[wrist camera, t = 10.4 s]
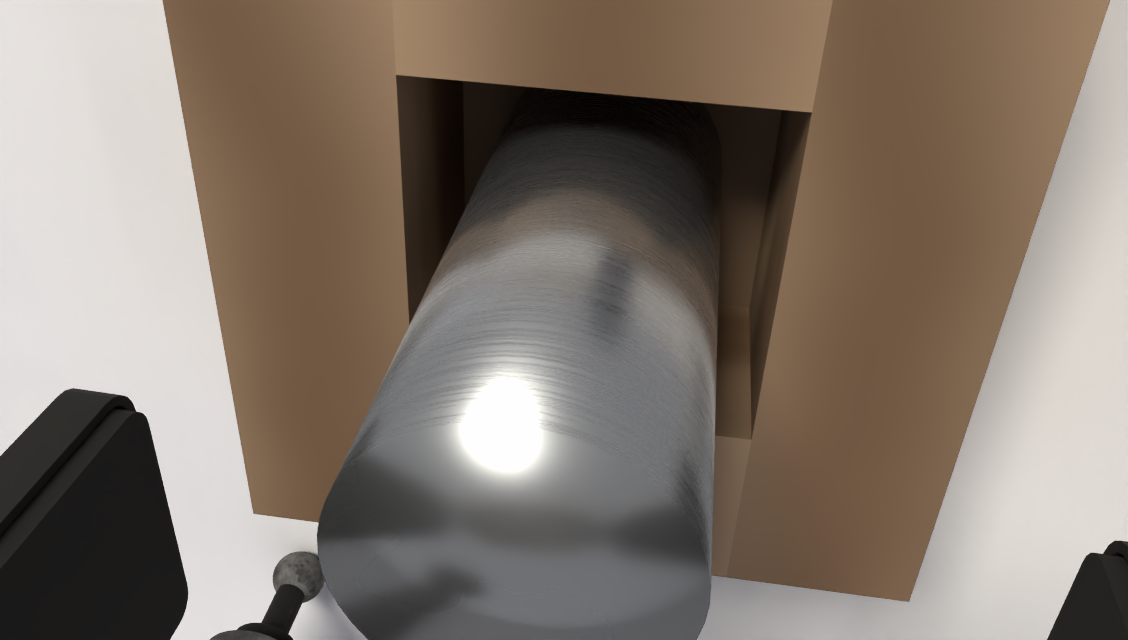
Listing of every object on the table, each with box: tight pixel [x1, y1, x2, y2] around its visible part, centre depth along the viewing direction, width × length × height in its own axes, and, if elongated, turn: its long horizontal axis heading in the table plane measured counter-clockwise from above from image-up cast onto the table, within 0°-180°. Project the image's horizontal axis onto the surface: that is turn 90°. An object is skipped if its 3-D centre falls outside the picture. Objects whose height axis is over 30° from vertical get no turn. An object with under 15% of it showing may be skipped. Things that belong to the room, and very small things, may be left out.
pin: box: [317, 87, 722, 640], centre depth 14 cm, size 4×4×10 cm
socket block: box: [163, 0, 1110, 602], centre depth 17 cm, size 12×12×5 cm
